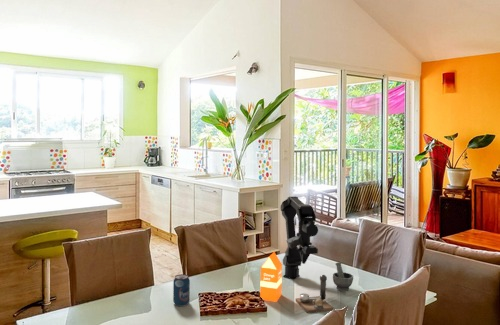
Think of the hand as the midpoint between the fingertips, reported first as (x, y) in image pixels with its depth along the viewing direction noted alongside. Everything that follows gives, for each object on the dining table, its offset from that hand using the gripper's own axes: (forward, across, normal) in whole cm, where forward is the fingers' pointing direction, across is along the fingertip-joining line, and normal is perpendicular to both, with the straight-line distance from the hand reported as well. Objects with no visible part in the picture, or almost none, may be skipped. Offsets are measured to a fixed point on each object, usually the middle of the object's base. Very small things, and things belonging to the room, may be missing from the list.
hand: (303, 263), depth 194 cm
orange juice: (+13, +6, -18) cm, 23 cm away
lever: (+11, +18, -3) cm, 21 cm away
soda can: (+13, +4, -59) cm, 60 cm away
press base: (+13, +20, -3) cm, 23 cm away
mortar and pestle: (+13, +4, +19) cm, 23 cm away
